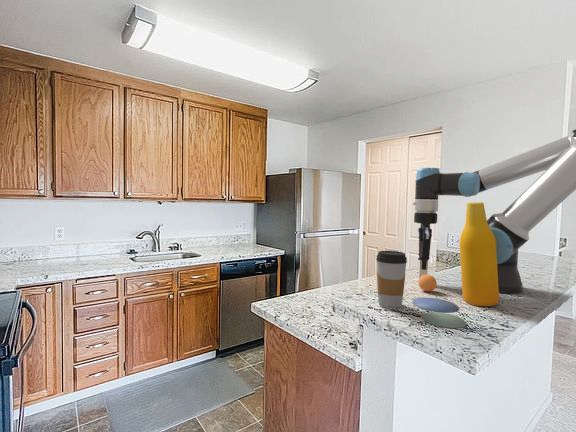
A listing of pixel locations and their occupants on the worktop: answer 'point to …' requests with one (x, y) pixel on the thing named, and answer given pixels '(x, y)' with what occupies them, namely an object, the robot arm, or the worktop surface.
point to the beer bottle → (478, 258)
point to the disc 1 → (435, 304)
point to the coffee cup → (390, 278)
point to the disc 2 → (443, 320)
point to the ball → (427, 283)
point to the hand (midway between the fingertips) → (422, 277)
